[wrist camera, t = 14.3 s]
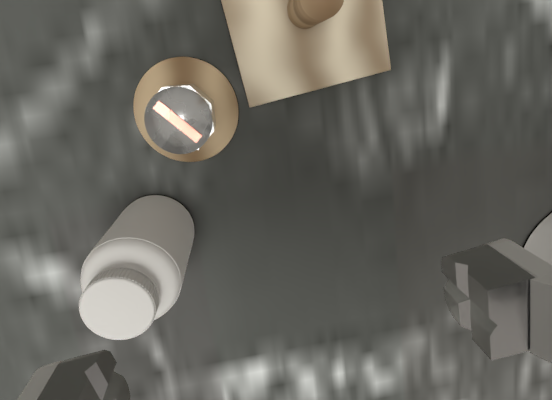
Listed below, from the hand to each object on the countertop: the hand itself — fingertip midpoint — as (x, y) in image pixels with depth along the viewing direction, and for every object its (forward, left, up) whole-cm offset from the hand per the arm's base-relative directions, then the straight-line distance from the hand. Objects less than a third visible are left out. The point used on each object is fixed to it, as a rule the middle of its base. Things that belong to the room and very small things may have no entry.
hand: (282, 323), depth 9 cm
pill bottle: (+12, +8, -31) cm, 34 cm away
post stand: (-8, -9, -31) cm, 33 cm away
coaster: (+5, -3, -31) cm, 32 cm away
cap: (+5, -3, -30) cm, 31 cm away
